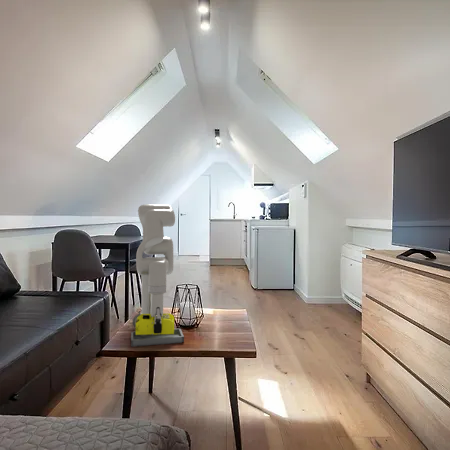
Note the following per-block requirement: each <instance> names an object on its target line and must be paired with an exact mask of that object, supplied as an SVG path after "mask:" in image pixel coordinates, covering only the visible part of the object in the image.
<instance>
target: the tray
mask: <svg viewBox="0 0 450 450" xmlns="http://www.w3.org/2000/svg"><path fill="white" fill-rule="evenodd" d="M130 335H131V336H130V340H131V341H130V342H131V343H130V345H131V347H145V346H155V345H156V346H157V345H158V346H159V345H169V344H172V345H173V344H182V342H184V343H185V336H184V334H183V331H182V329H181V328H174V334H170V335H163V334H160V335H158V334H153V335H152V334H151V335H145V336H142V335H136V330H134V331H131V332H130Z"/></svg>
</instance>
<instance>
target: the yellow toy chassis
mask: <svg viewBox="0 0 450 450" xmlns="http://www.w3.org/2000/svg"><path fill="white" fill-rule="evenodd" d="M155 316H157V315H155ZM156 319H157V318H156ZM161 323H162V332H161V333H154V324H155V319H154V317H151V314H141V315H140V316H138V317H137V323H136V328H135V331H136V335H142V336H145V335H151V334H152V335H153V334H158V335H160V334H163V335H170V334H174V329H175V316H174V315H173V314H171V313H170V312H169V313H163V316H162V317H161Z"/></svg>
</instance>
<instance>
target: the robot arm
mask: <svg viewBox="0 0 450 450" xmlns="http://www.w3.org/2000/svg"><path fill="white" fill-rule="evenodd" d="M137 213H138V214H137V215H138V219H139V221H140V224H141V227H142V241H141V243H140V244H139V246H138V248H137V251H136V254H135V255H136V256H135V257H136V258H135V260H136V262H135V264H136V272H137V274H138V275H140V278H141V307H140V309H141V310H142V311H141V310H140V311H141V312H140V314H151V317H154V319H155V324H154V333H161V332H162V323H161V317H162V316H163V314H164V294H166V293H167V276H168V275H171V274H173V271H174V241H173V239H172V238H171V237H169V236H164V227H166V228H167V227H169V228H170V227H173V226H174V225H175V224H176V214H175V210H174V208H173V207H172V206H171V205H170V204H155V203H153V204H151V203H150V204H149V203H146V204H141V205H140V206H138V210H137ZM143 253H144V254H145V255H147V257H143V255H144V254H143ZM148 255H152V256H151V257H148ZM154 255H155V256H154ZM156 255H158V256H156ZM159 255H160V256H159ZM161 255H162V256H161ZM163 256H164V257H163ZM155 315H157V316H155ZM156 318H157V319H156Z"/></svg>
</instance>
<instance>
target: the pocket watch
mask: <svg viewBox="0 0 450 450" xmlns="http://www.w3.org/2000/svg"><path fill="white" fill-rule="evenodd" d="M141 311H142V310H141V308H139V310H138V311H137V313H138V314H136V315H135V316H134V317H133V318H132V326H133V327H134V328H135V329H136V323H137V317H138V316H140V315H141V314H140V313H141Z"/></svg>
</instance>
